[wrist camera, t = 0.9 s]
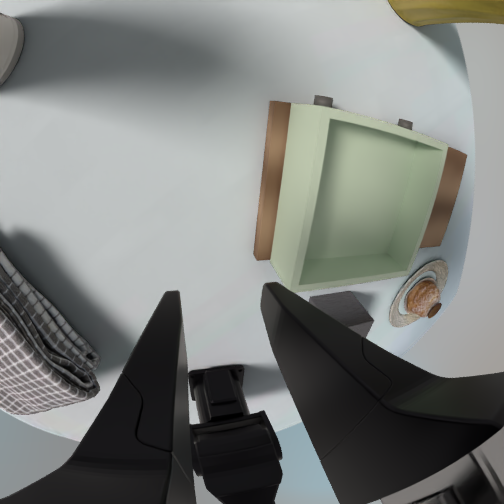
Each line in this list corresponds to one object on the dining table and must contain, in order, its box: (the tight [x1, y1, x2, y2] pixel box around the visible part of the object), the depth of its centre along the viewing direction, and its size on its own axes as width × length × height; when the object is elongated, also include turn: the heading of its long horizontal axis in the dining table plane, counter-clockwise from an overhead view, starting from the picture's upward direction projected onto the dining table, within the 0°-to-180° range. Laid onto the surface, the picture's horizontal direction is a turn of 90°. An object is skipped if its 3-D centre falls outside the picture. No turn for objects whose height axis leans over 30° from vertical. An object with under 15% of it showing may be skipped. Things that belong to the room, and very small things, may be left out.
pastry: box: [389, 260, 448, 327], centre depth 32 cm, size 12×12×5 cm
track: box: [253, 101, 467, 261], centre depth 22 cm, size 12×24×1 cm, turn 84°
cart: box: [270, 95, 448, 293], centre depth 19 cm, size 14×12×4 cm
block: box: [309, 291, 374, 338], centre depth 27 cm, size 5×5×5 cm
